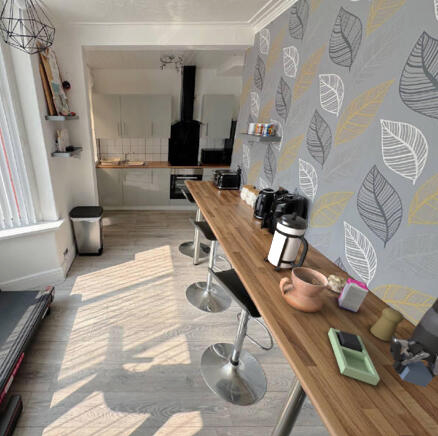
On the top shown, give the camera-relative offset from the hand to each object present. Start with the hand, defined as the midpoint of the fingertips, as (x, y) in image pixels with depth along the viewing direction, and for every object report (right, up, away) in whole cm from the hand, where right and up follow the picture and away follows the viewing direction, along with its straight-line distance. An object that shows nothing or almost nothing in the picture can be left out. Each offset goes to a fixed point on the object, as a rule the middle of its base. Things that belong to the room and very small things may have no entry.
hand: (409, 374), depth 63 cm
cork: (+15, 0, +23) cm, 27 cm away
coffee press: (0, +17, +60) cm, 62 cm away
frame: (-4, -3, +14) cm, 15 cm away
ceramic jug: (-7, +6, +36) cm, 37 cm away
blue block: (0, 0, 0) cm, 0 cm away
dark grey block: (-3, -2, +17) cm, 17 cm away
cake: (+17, +10, +47) cm, 51 cm away
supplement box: (+13, +5, +35) cm, 38 cm away
